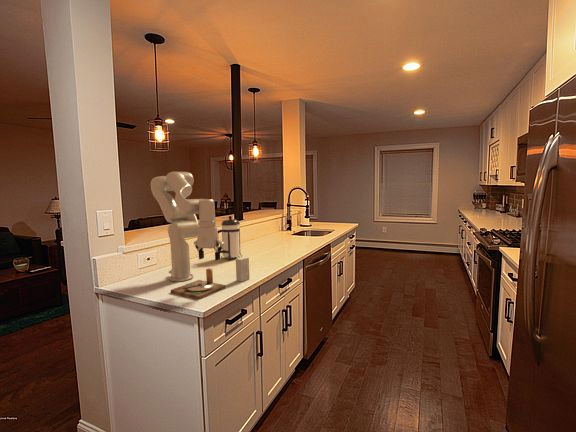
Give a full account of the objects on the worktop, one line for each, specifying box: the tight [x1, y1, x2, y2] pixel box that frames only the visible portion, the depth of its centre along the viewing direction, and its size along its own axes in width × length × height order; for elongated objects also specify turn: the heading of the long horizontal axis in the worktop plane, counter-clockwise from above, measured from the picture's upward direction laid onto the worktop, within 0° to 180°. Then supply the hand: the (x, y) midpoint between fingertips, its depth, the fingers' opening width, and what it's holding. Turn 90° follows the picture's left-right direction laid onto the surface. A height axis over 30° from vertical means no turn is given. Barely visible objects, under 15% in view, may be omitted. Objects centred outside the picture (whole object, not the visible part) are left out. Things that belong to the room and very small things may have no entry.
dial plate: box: [170, 279, 227, 300], centre depth 153 cm, size 19×18×2 cm
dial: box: [183, 267, 215, 292], centre depth 152 cm, size 15×13×8 cm
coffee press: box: [217, 215, 243, 261], centre depth 219 cm, size 17×16×30 cm
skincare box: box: [235, 256, 250, 283], centre depth 169 cm, size 6×4×12 cm
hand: (209, 259), depth 154 cm, fingers open, 9 cm apart
